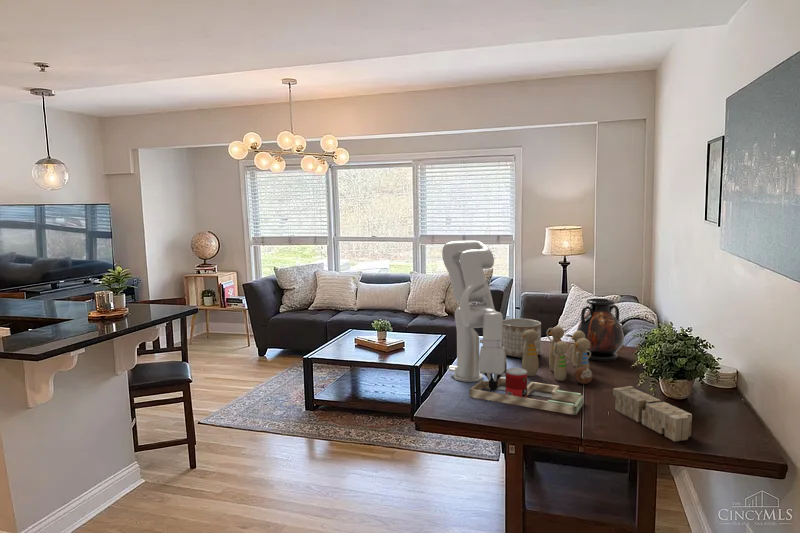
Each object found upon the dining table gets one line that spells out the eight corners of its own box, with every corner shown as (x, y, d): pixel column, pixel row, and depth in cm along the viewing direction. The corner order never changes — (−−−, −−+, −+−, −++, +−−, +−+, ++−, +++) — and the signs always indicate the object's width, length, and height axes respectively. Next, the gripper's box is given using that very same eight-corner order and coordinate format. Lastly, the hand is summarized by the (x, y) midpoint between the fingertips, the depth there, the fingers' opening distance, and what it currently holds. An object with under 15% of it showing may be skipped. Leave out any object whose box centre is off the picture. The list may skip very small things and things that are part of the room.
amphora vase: (608, 350, 272) (609, 296, 269) (632, 362, 250) (634, 303, 247) (568, 352, 269) (569, 297, 266) (588, 364, 247) (590, 304, 245)
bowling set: (562, 392, 210) (563, 342, 208) (516, 375, 233) (517, 329, 231) (625, 377, 229) (627, 330, 227) (577, 362, 252) (578, 320, 250)
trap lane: (469, 396, 206) (469, 387, 206) (487, 382, 224) (487, 373, 223) (576, 415, 187) (576, 405, 186) (587, 397, 204) (587, 388, 204)
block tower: (694, 441, 167) (630, 406, 195) (696, 416, 166) (631, 384, 194) (673, 445, 165) (612, 408, 193) (675, 419, 164) (613, 386, 192)
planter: (545, 360, 256) (545, 326, 254) (504, 360, 256) (504, 326, 254) (535, 349, 275) (535, 318, 273) (497, 350, 275) (498, 318, 274)
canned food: (527, 402, 199) (527, 374, 198) (505, 401, 201) (505, 373, 200) (526, 395, 207) (526, 368, 206) (505, 394, 209) (505, 367, 207)
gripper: (471, 343, 207) (471, 390, 208) (508, 347, 199) (508, 395, 201) (478, 340, 213) (478, 385, 215) (514, 343, 206) (514, 390, 207)
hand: (493, 389), depth 208 cm, fingers closed
